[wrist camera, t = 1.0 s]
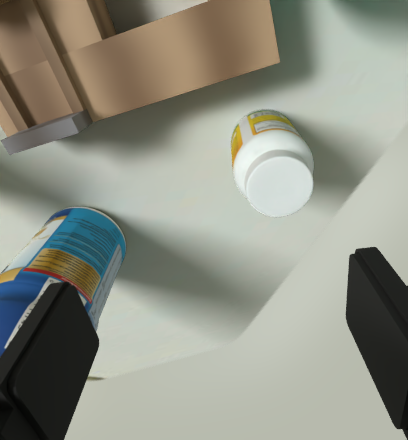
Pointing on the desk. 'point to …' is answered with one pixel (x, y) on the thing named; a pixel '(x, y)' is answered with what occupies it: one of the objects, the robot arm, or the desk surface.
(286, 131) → the supplement bottle
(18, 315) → the beverage bottle
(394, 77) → the desk surface
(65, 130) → the socket block
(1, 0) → the latch bar
